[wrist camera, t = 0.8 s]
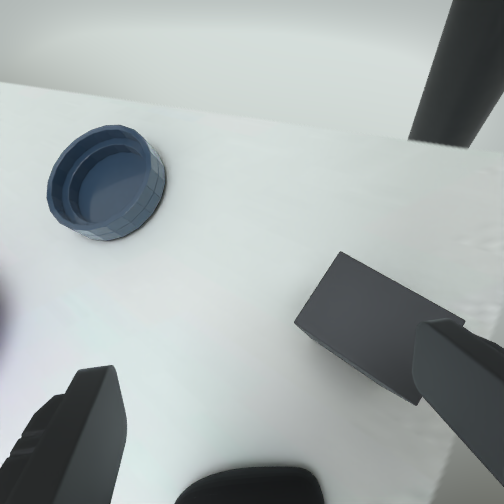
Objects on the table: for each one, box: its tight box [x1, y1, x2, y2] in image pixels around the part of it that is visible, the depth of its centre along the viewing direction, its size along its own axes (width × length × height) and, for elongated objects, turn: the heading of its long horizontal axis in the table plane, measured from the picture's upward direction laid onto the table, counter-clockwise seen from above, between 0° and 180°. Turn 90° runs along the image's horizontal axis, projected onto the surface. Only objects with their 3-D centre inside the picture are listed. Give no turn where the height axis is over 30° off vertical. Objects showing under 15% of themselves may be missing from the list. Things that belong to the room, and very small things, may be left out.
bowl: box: [47, 125, 165, 241], centre depth 36 cm, size 12×12×4 cm
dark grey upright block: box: [294, 252, 465, 406], centre depth 22 cm, size 4×6×12 cm
